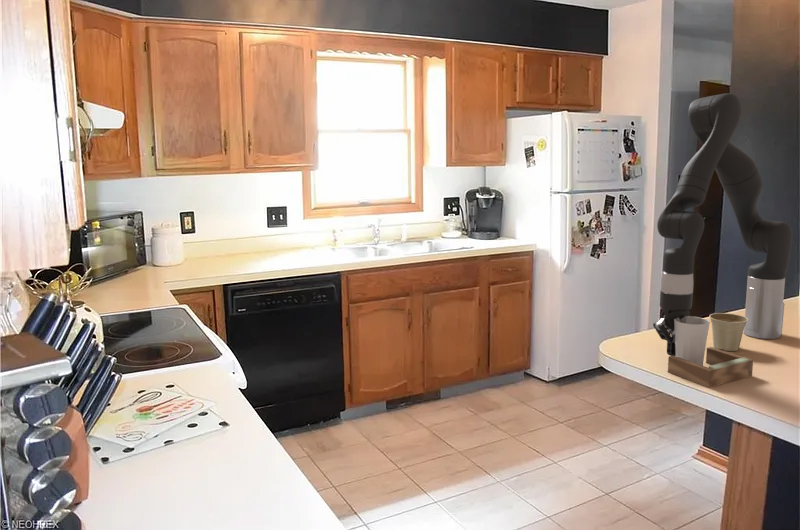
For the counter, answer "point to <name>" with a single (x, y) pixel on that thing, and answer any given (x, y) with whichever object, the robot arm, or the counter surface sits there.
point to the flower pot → (727, 330)
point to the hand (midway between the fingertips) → (672, 355)
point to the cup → (691, 339)
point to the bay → (712, 368)
